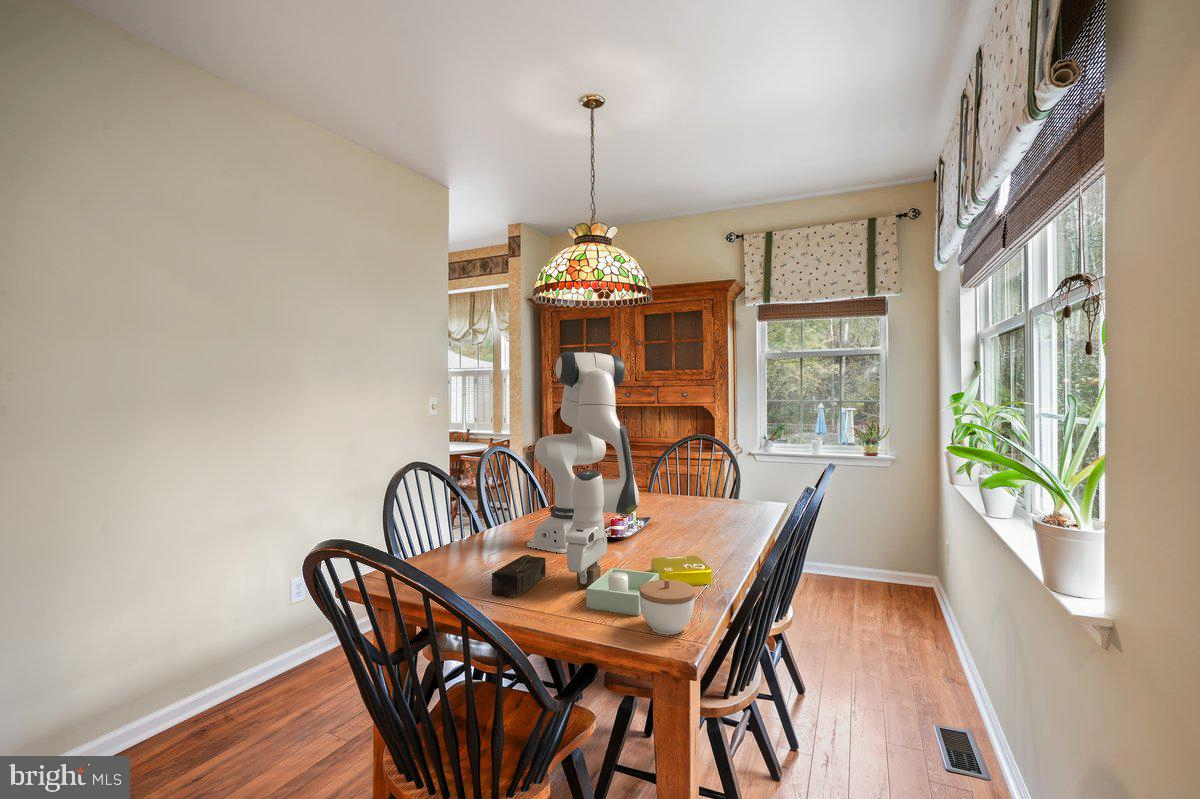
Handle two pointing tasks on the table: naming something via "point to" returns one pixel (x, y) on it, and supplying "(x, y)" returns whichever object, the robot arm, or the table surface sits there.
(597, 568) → the walnut block
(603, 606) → the tote
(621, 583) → the white rounded cylinder
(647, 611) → the lidded bowl
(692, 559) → the element tile
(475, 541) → the table surface
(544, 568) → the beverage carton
